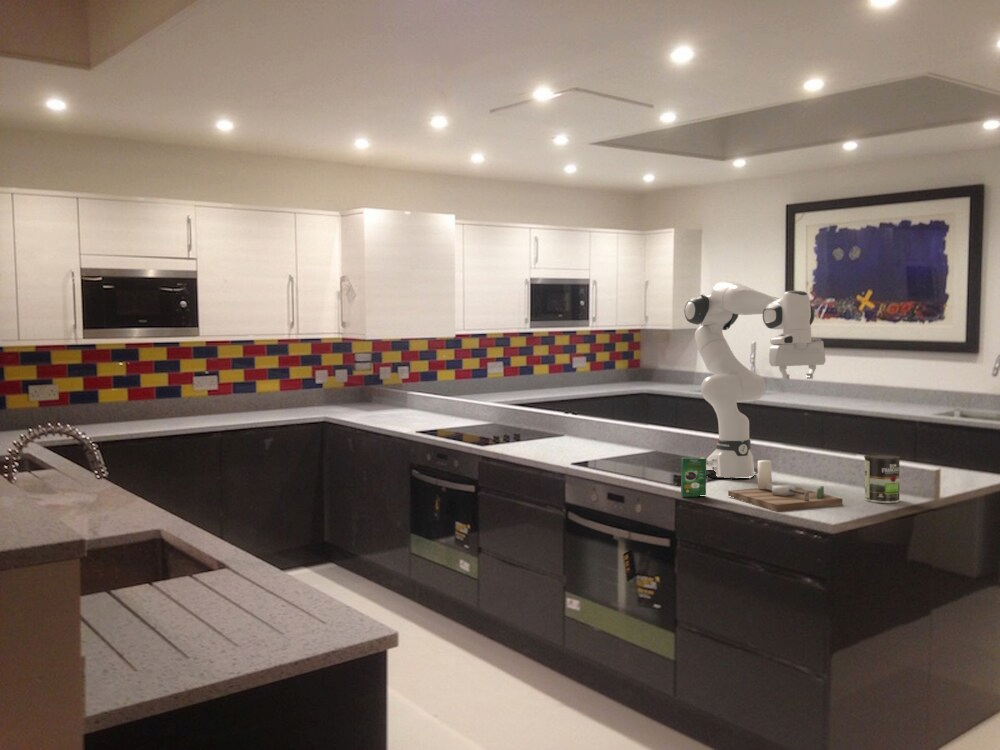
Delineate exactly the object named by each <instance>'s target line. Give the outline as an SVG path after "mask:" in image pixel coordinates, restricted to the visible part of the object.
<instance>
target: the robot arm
mask: <svg viewBox="0 0 1000 750" xmlns="http://www.w3.org/2000/svg"><path fill="white" fill-rule="evenodd" d="M683 313H684V317H685V319H686V320H687V322H688V323H689V324H692V325H697V326H699V325H700V326H699V327H697V329H696V330H695V333H694V340H695V343H696V347H697V350H698V352H699V354H700V357H701V358H702V360H703V362H704V364H705V367H706V369H707V370H708V372H709V373H711V374H712V375H709V376H707V377H705V378H704V379H703V381H702V383H701V386H700V391H701V395H702V398H703V399H704V400H705V401H706V402H708V404H710V405H711V406H712V408H713V410H714V412H715V414H716V417H717V422H718V439H716V440H715V444H716V446H715V448H716V449H715V450H714V451H713V452H712V453H711V454H710V455H709V456H708V457H707V458H706V470H714V471H715V472H716V476H717V477H724V478H730V477H749V476H753V475H754V474H755V473H757V472H756V471H755V465H754V456H753V455H754V454H753V453H752V452H751V448H752V447H751V445H752V443H751V439H750V420H749V418H748V417H747V416H746V415H745V414H744V413H742V412H741V411H740V410H739V409H738V404H737V403H750V402H753V401H757V400H760V399H762V398H763V397H764V395H765V393H766V389H767V385H766V381H765V380H764V377H763V376H761V375H760V374H758V373H755V372H753V371H752V370H750V369H749V368H748V367H746V366H745V365H744V364H743V363H742V362H740V361H739V360H738V358H737V357H736V356H735V354H734V353H733V351H732V349H731V347H730V346H729V343H728V341H727V340H726V338H725V337H724V334H723V331H727V330H729V329H730V327H731V326H732V325H734V324H735V322H736V321H737V319H738V317H739V315H741V316H753V315H762V320H763V324H764V325H765V326H766V327H767V328H768V329H771V330H782V331H783V332H782V333H780V334H779V335H775V336H773V337H771V338H770V344H771V346H770V347H769V352H768V353H769V354H768V360H769V362H768V363H769V365H770V366H771V367H779V372H780V374H781V375H782V380H783V381H788V380H790V374H788V373H787V368H788V367H795V366H796V367H797V366H798V367H799V366H800V367H801V366H808V369H809V371H808V372H807V373H806V374H805V375H806V379H807V380H810V379H811V380H813V379H814V373H815V372H816V369H817V366H819V365H820V366H821V365H822V366H823V365H824V364H825V363H826V353H825V347H824V346H825V345H824V343H825V342H824V341H823V340H822V339H821V338H819V337H815V338H814V337H812V324H813V323H814V321H815V316H816V315H815V310H814V307H813V306H812V304H811V301H810V296H809V294H808V293H807V292H806V291H803V290H786V291H785V292H784V293H783V295H782V296H781V297H780V298H778V297H775V296H772V295H769V294H766V293H764V292H762V291H758V290H756V289H754V288H751V287H750V286H746V285H743V284H741V283H738V282H735V281H727V280H726V281H719V282H717V283H715V285H713V288H712V290H711V293H710V294H709V295H705V294H701V295H698V296H696V297H692V298H690V299H688V300H687V302H686V304H685V306H684V310H683Z"/></svg>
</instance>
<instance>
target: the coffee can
mask: <svg viewBox="0 0 1000 750" xmlns="http://www.w3.org/2000/svg"><path fill="white" fill-rule="evenodd" d="M900 459H901V457H900V456H898V455H892V454H877V453H875V454H874V453H873V454H865V455H864V501H866V502H868V503H869V502H870V503H876V504H897V503H899V502H900Z"/></svg>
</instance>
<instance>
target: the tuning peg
mask: <svg viewBox="0 0 1000 750" xmlns="http://www.w3.org/2000/svg"><path fill="white" fill-rule="evenodd" d="M772 465H773V464H772V460H769V459H767V460H766V459H761V460H760V459H759V460H757V488H759V489H769V490H772V494H774V495H781V496H791V495H795V493H798V494H802V495H804V494H805V492H801V491H797V490H795V487H796V486H795V485H792V484H779V483H778V484H775V483H773V481H772V480H773V479H772V478H773V477H772V475H773V474H772V473H773V472H772V470H773V469H772V468H773V467H772Z"/></svg>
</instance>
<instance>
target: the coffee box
mask: <svg viewBox="0 0 1000 750" xmlns="http://www.w3.org/2000/svg"><path fill="white" fill-rule="evenodd" d="M706 460H707V458H705V457H681V461H680V462H681V464H680V467H681V469H680V470H681V471H680V472H681V473H680V497H682V498H699V497H698V496H700V495H706V496H707V476H706Z"/></svg>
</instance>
